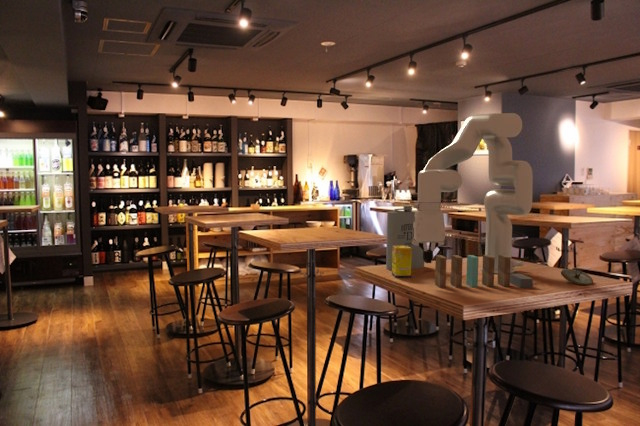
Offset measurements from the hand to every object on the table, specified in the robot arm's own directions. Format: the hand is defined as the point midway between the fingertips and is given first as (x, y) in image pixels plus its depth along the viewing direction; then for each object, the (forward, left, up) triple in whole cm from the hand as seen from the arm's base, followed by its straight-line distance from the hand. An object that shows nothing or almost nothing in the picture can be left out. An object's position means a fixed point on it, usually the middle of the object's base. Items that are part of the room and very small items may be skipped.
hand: (427, 262), depth 176 cm
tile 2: (-10, 0, -8) cm, 13 cm away
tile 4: (-21, 0, -8) cm, 22 cm away
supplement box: (+5, -17, -8) cm, 19 cm away
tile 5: (-26, 0, -8) cm, 28 cm away
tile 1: (-4, 0, -8) cm, 9 cm away
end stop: (-32, 0, -8) cm, 33 cm away
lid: (-54, -3, -8) cm, 55 cm away
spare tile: (-15, 0, -8) cm, 17 cm away
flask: (-1, -33, -8) cm, 34 cm away
